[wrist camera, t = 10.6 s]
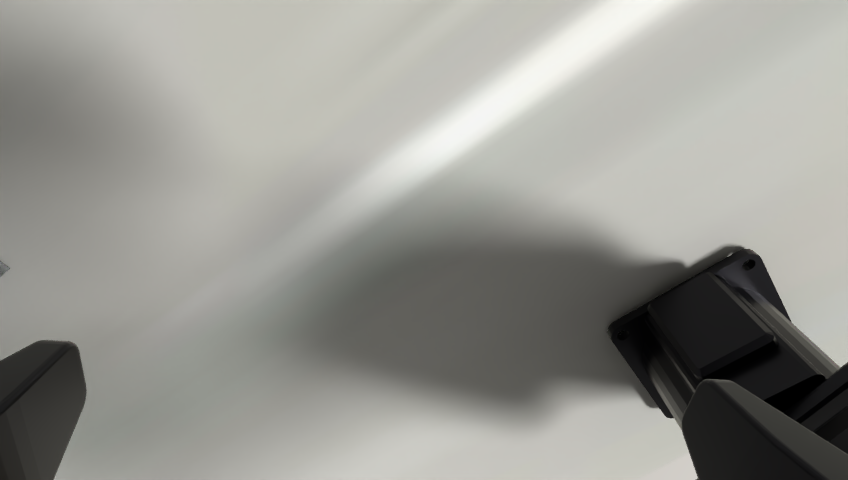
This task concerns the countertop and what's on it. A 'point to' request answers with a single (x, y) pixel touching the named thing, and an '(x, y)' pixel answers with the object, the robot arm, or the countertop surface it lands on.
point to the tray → (3, 269)
